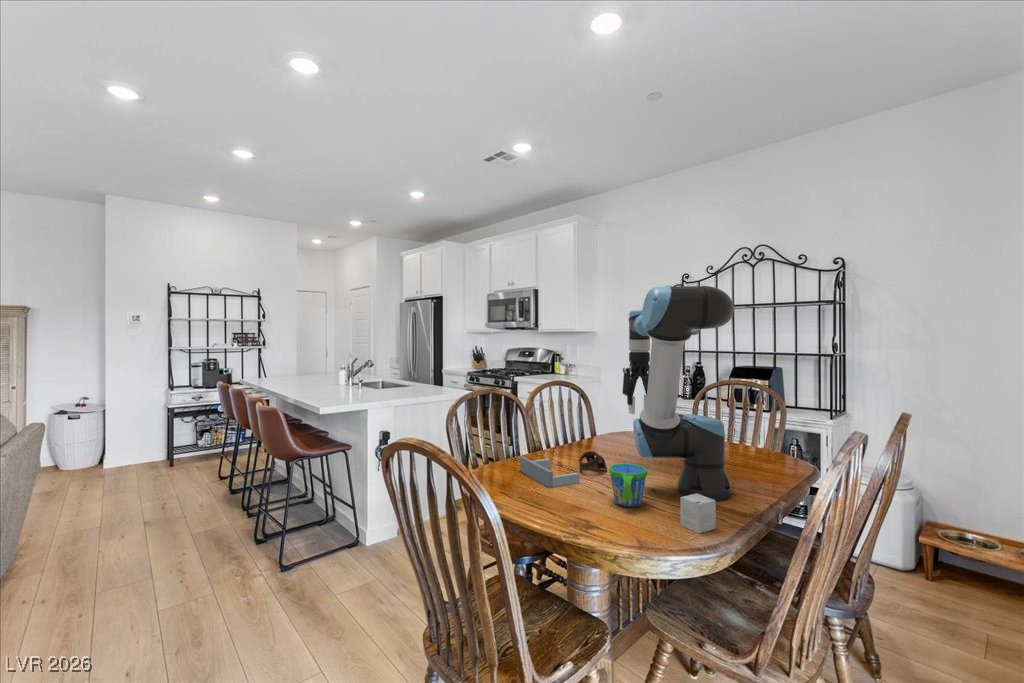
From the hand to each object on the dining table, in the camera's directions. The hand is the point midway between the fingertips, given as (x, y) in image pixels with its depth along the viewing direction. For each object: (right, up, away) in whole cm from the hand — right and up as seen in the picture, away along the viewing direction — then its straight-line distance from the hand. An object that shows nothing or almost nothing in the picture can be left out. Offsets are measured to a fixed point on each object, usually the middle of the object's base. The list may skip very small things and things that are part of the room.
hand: (639, 412), depth 179 cm
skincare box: (-1, -20, -59) cm, 62 cm away
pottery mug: (-19, -20, -9) cm, 29 cm away
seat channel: (-35, -19, -16) cm, 43 cm away
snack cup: (-15, -20, -42) cm, 49 cm away
